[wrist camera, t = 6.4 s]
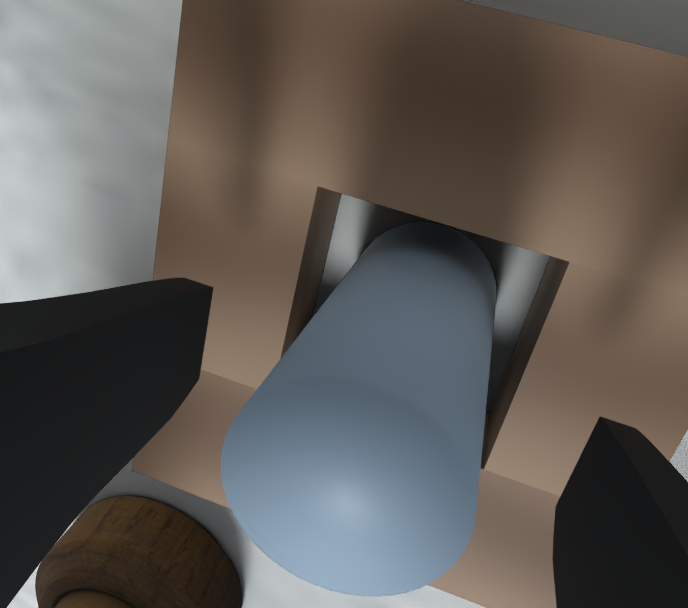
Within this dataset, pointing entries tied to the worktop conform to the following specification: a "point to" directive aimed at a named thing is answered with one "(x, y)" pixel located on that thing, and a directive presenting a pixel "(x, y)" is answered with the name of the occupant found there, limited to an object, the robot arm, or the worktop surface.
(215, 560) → the mortar and pestle
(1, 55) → the worktop surface
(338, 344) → the peg
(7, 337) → the robot arm
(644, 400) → the socket block
